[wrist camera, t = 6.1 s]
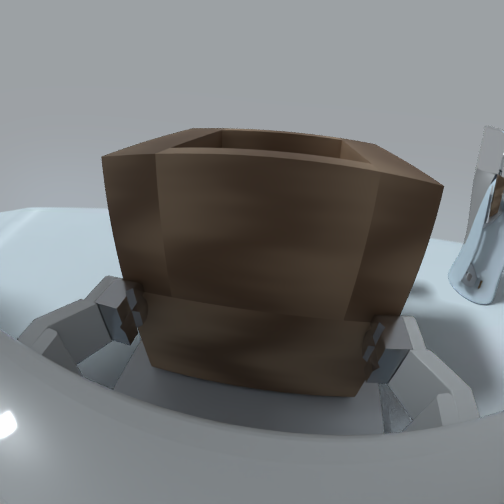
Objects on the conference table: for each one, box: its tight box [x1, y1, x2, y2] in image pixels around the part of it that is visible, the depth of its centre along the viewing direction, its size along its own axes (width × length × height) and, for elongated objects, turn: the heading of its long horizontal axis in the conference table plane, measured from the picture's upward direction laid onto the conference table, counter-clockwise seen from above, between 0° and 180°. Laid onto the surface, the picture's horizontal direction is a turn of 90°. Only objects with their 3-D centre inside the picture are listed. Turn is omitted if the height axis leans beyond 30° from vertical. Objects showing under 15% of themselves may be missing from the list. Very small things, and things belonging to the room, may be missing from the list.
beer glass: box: [448, 126, 504, 304], centre depth 17 cm, size 7×7×15 cm
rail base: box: [113, 339, 384, 435], centre depth 13 cm, size 13×19×7 cm
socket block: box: [102, 128, 444, 397], centre depth 12 cm, size 10×8×10 cm
